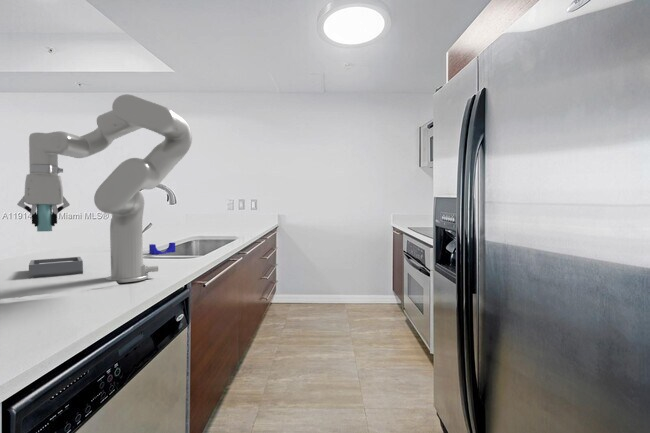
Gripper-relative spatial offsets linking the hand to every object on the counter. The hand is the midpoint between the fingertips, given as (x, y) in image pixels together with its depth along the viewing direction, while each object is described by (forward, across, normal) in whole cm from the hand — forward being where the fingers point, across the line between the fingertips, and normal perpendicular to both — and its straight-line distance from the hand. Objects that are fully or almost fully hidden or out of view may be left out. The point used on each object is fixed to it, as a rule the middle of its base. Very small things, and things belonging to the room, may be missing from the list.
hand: (44, 225), depth 123 cm
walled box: (+17, -4, -10) cm, 21 cm away
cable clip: (+18, -48, -40) cm, 65 cm away
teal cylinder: (+2, 0, 0) cm, 2 cm away
